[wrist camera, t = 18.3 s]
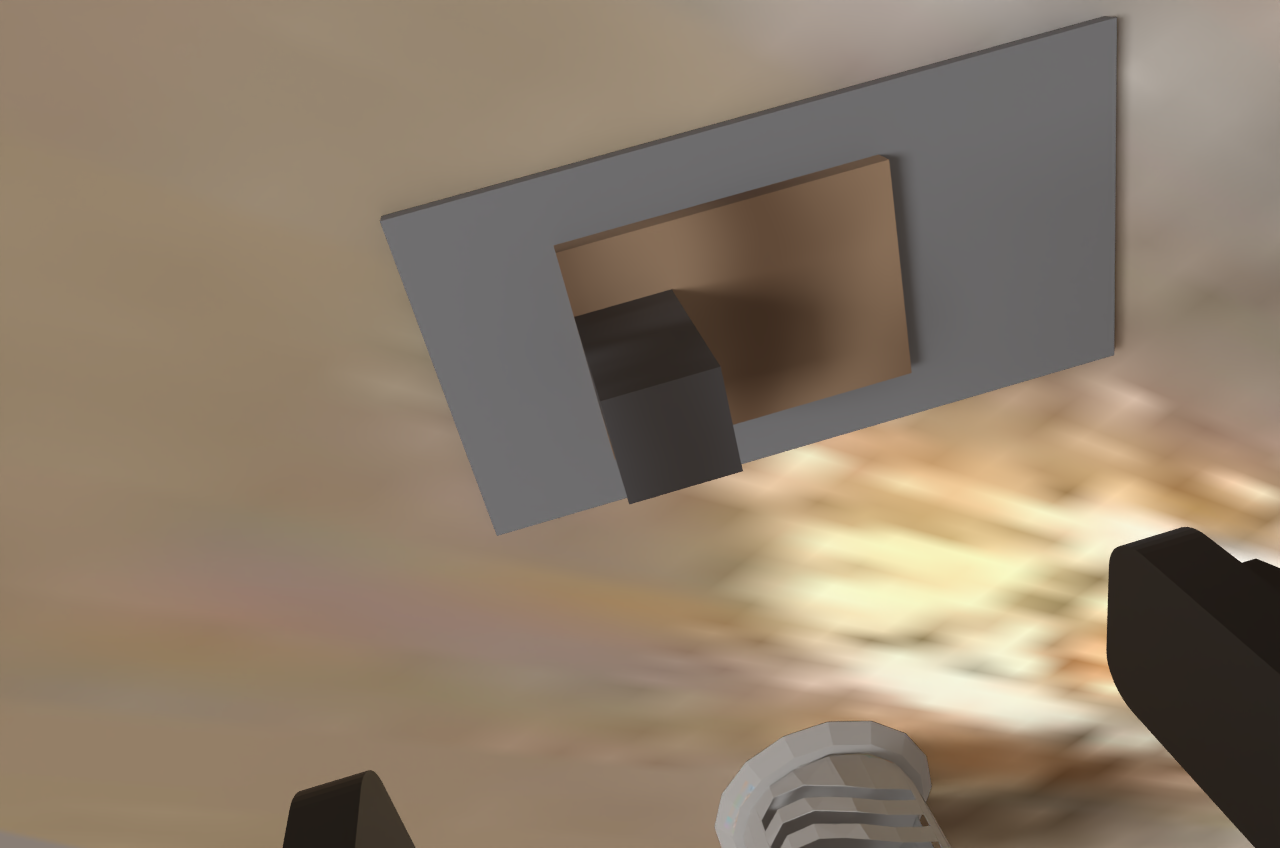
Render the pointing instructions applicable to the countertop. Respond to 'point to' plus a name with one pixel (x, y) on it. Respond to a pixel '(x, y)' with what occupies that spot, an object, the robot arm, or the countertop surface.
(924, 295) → the mat
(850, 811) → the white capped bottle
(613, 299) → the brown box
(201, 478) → the countertop surface
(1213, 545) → the robot arm
